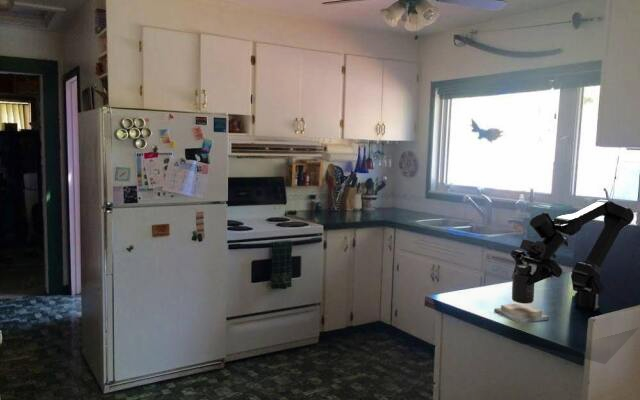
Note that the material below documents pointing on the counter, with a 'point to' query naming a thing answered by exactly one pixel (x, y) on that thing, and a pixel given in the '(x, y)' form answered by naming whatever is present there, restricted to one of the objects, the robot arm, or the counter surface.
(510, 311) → the build base
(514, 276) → the supplement bottle
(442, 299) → the counter surface
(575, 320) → the counter surface
